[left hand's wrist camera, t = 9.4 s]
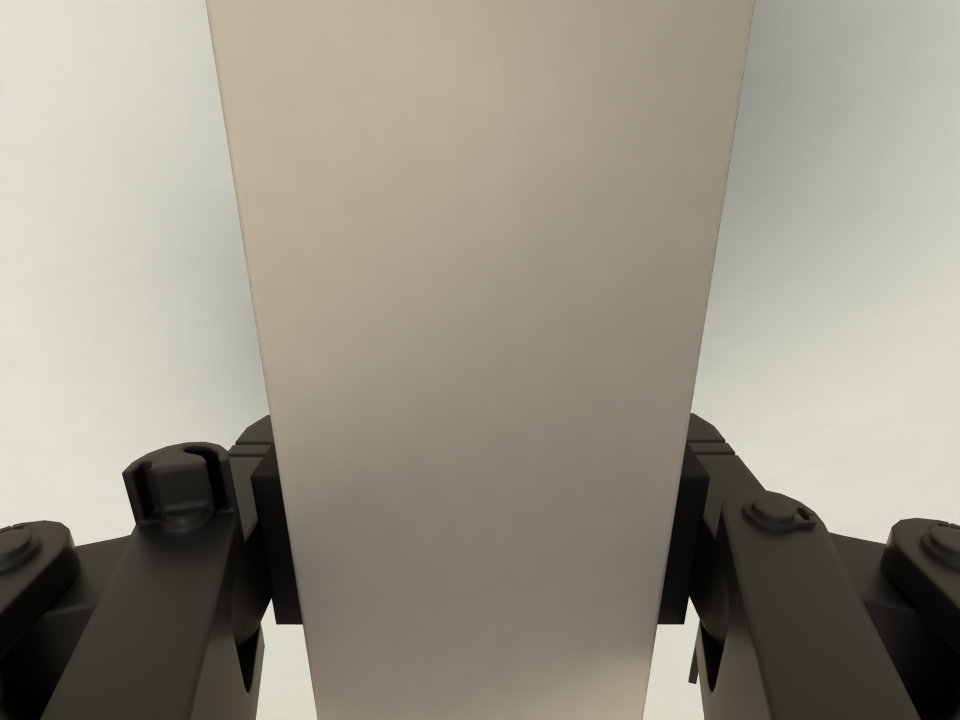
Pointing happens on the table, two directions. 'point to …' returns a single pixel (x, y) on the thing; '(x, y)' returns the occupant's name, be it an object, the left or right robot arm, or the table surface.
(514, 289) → the beam
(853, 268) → the table surface
